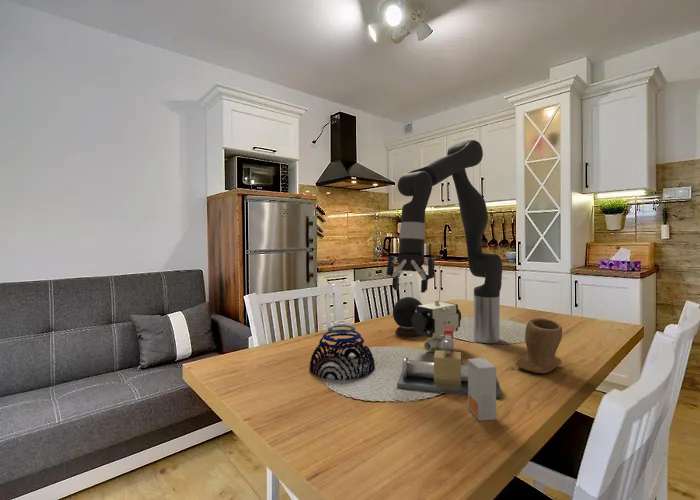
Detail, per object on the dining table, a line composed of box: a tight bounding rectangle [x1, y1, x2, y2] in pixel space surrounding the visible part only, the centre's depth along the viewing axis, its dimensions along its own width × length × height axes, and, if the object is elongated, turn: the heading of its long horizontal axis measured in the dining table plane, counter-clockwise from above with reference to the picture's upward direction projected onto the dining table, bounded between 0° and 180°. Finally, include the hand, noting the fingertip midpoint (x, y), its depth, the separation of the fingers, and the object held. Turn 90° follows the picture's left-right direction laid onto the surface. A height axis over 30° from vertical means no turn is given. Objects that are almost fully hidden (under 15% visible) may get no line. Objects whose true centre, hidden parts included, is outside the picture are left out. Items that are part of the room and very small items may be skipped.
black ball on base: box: [392, 296, 423, 338], centre depth 151 cm, size 13×13×15 cm
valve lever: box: [442, 327, 455, 351], centre depth 106 cm, size 16×3×2 cm, turn 163°
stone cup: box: [514, 317, 563, 374], centre depth 110 cm, size 15×12×15 cm
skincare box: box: [467, 357, 497, 422], centre depth 83 cm, size 6×4×12 cm
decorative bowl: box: [309, 319, 376, 381], centre depth 114 cm, size 20×20×14 cm
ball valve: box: [412, 299, 462, 353], centre depth 128 cm, size 18×8×18 cm, turn 124°
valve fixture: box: [396, 350, 502, 400], centre depth 100 cm, size 12×26×10 cm, turn 73°
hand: (409, 291), depth 110 cm, fingers open, 8 cm apart
